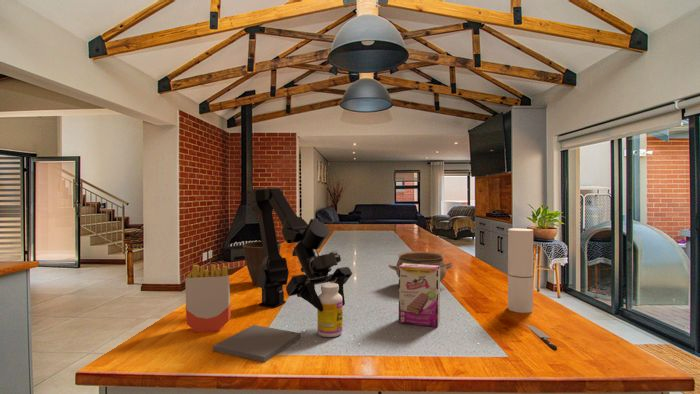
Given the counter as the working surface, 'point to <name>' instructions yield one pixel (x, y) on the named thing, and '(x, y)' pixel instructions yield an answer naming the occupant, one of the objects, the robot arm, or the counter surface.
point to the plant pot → (255, 258)
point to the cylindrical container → (520, 270)
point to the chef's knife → (541, 336)
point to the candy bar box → (419, 294)
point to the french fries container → (207, 299)
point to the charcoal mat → (257, 343)
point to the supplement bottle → (330, 311)
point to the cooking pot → (422, 261)
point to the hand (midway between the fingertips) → (333, 307)
